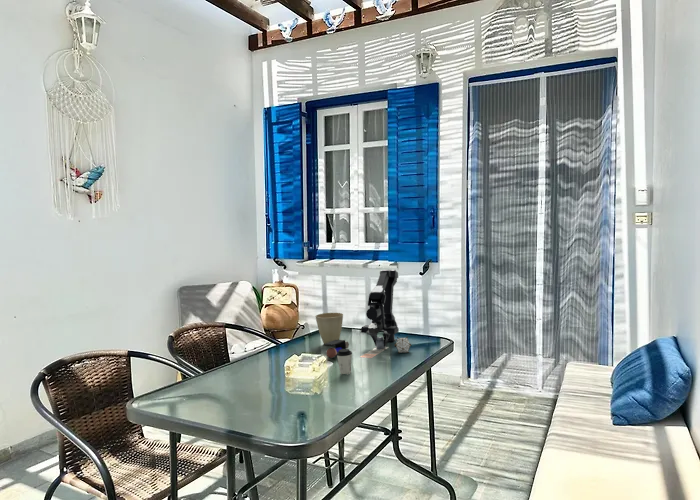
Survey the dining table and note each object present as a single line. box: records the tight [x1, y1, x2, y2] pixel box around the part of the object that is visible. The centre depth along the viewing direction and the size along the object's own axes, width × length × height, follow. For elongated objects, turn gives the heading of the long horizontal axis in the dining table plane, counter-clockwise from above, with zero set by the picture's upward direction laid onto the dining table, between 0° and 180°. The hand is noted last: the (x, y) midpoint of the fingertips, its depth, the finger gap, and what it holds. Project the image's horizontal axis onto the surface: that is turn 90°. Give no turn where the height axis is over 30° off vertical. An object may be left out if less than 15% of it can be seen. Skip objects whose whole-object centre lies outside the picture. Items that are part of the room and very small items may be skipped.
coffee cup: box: [336, 348, 353, 375], centre depth 216 cm, size 7×7×10 cm
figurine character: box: [322, 339, 350, 359], centre depth 247 cm, size 7×8×15 cm
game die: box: [394, 336, 412, 354], centre depth 242 cm, size 9×8×10 cm
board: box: [359, 346, 389, 359], centre depth 246 cm, size 22×9×1 cm, turn 151°
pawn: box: [375, 336, 386, 350], centre depth 252 cm, size 4×4×6 cm
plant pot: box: [315, 312, 344, 344], centre depth 270 cm, size 15×15×16 cm
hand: (380, 346), depth 252 cm, fingers closed on pawn, 4 cm apart
